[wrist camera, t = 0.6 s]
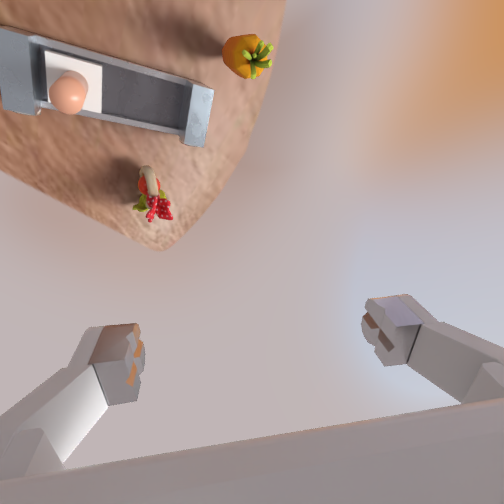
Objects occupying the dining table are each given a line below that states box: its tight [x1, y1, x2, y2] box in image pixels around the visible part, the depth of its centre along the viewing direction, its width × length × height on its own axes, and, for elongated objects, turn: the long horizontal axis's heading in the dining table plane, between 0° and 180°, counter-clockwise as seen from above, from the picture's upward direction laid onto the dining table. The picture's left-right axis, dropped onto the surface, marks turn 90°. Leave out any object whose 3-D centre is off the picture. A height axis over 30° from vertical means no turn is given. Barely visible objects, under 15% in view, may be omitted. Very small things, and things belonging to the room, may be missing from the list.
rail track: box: [0, 26, 214, 147], centre depth 40 cm, size 8×24×8 cm, turn 73°
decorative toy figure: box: [132, 165, 173, 222], centre depth 48 cm, size 6×11×9 cm
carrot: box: [222, 34, 273, 79], centre depth 39 cm, size 5×5×15 cm
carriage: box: [45, 50, 102, 114], centre depth 34 cm, size 6×6×13 cm
